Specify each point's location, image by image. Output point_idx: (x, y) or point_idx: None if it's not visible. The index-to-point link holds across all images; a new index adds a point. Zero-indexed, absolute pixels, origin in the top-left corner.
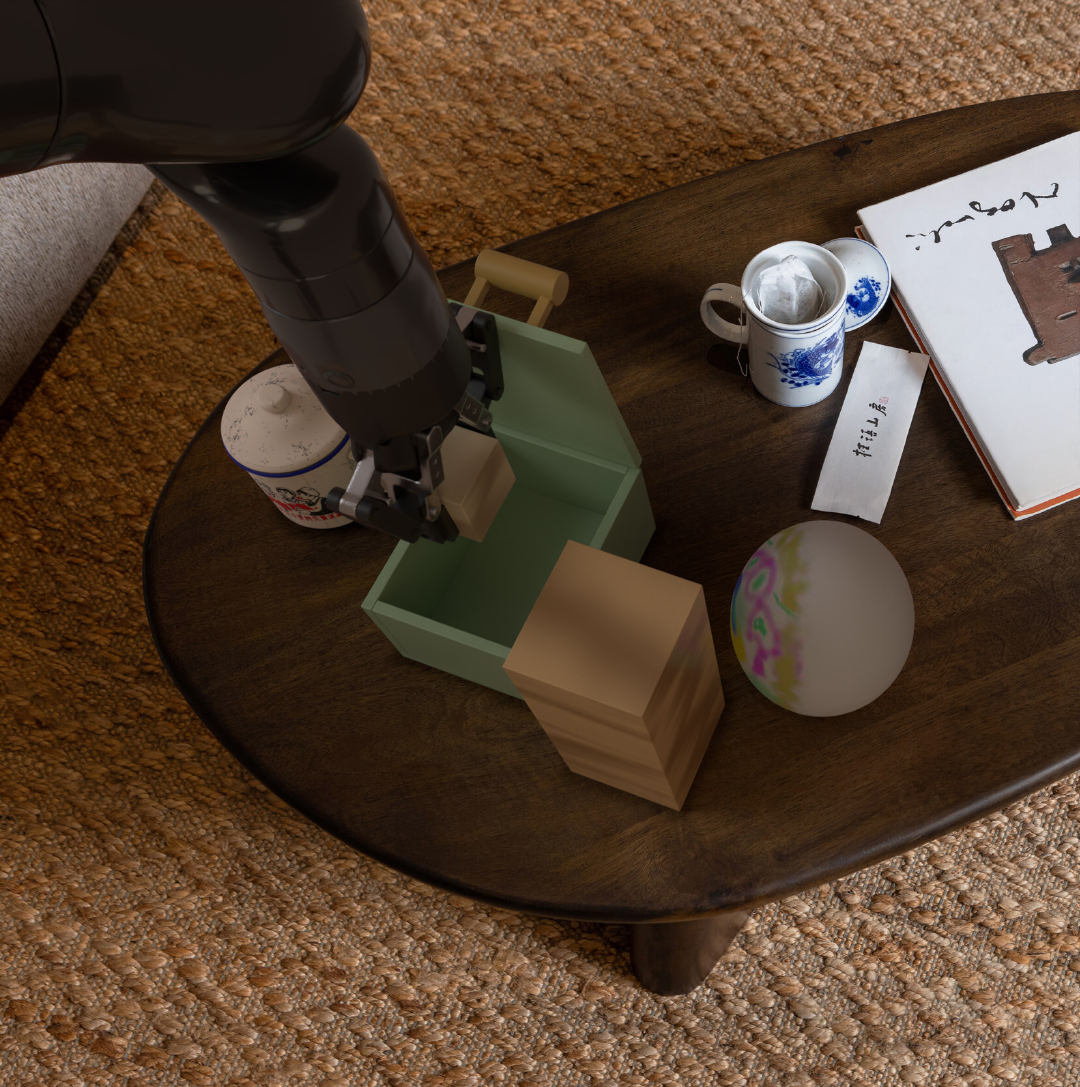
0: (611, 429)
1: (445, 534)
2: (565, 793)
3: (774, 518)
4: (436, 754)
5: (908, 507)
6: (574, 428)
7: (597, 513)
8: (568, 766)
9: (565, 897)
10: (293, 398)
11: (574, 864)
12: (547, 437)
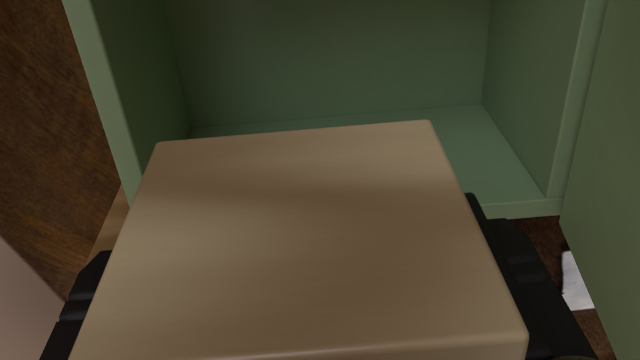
0: (624, 353)
1: None
2: (98, 182)
3: (540, 225)
4: (21, 4)
5: (584, 325)
6: (623, 211)
7: (488, 32)
8: (119, 190)
9: (4, 235)
10: None
11: (39, 226)
12: (602, 54)
